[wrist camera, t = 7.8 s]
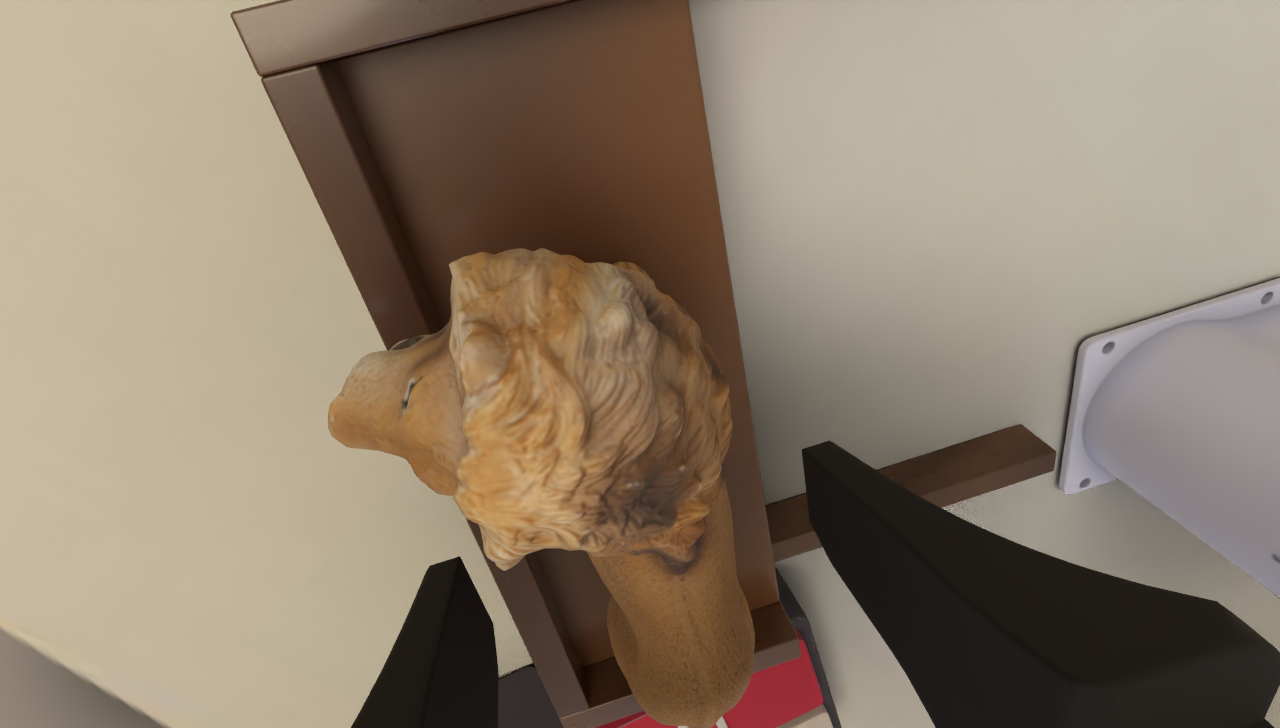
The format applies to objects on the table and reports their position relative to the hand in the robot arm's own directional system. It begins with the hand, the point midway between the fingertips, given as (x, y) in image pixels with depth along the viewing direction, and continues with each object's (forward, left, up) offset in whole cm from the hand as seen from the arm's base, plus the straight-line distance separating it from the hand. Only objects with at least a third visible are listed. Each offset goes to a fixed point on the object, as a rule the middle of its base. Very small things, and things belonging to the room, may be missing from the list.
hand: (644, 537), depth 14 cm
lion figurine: (0, 0, -5) cm, 5 cm away
